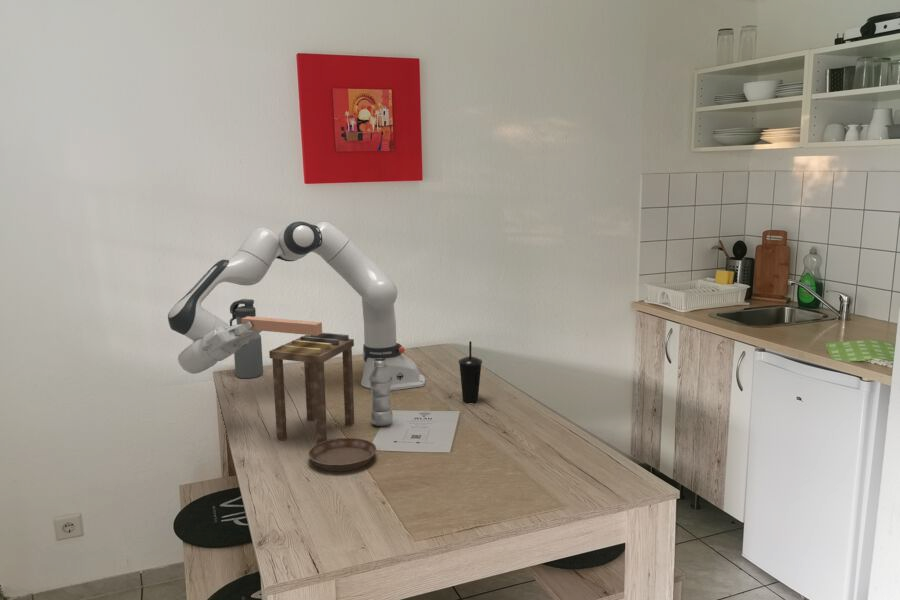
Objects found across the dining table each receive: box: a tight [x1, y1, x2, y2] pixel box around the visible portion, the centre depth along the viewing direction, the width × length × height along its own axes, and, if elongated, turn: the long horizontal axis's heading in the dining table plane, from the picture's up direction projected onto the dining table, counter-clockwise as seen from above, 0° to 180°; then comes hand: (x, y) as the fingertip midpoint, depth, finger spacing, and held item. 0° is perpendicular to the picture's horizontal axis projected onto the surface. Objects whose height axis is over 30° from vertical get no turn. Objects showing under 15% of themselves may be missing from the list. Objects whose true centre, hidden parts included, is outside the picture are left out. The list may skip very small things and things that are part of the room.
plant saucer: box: [307, 437, 377, 472], centre depth 185 cm, size 18×18×3 cm
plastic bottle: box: [369, 358, 394, 427], centre depth 208 cm, size 6×7×20 cm
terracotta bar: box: [242, 316, 323, 336], centre depth 196 cm, size 24×3×3 cm, turn 70°
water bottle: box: [229, 298, 264, 380], centre depth 255 cm, size 10×10×28 cm
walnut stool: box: [268, 332, 355, 445], centre depth 202 cm, size 16×19×28 cm
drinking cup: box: [458, 341, 483, 404], centre depth 227 cm, size 8×8×20 cm
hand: (256, 322), depth 198 cm, fingers closed on terracotta bar, 3 cm apart
